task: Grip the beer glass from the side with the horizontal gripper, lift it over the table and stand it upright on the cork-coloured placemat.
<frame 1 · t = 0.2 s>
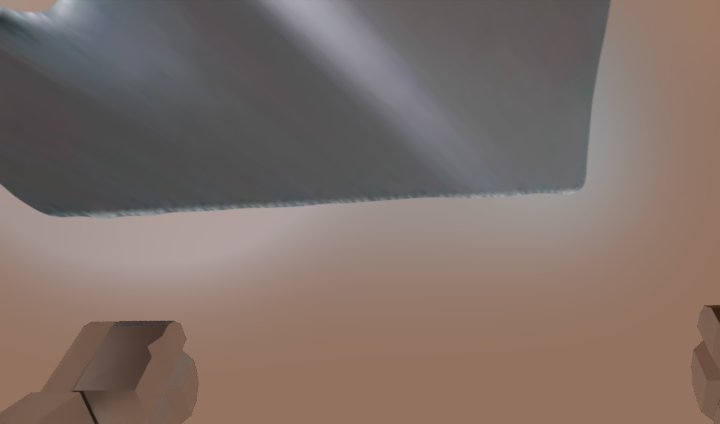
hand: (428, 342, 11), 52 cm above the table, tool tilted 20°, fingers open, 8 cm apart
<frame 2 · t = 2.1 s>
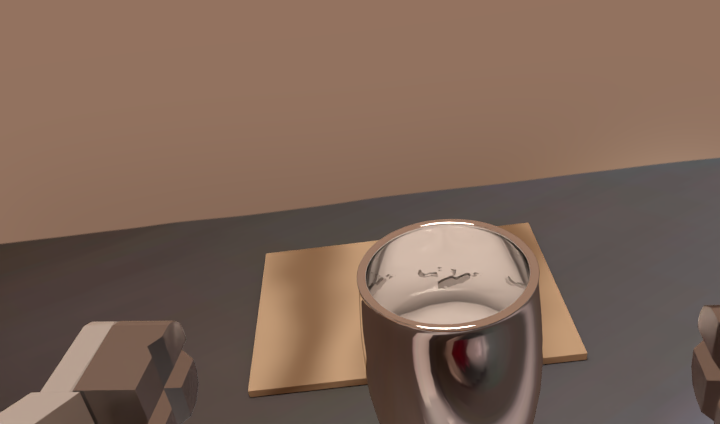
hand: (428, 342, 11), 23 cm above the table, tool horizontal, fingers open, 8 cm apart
placemat: (405, 302, 47), on the table
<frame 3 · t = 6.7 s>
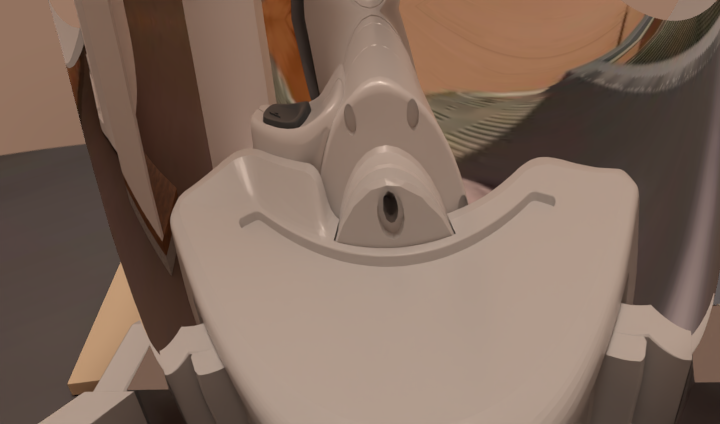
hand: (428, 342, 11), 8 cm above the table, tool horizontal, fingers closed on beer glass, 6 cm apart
placemat: (364, 238, 28), on the table
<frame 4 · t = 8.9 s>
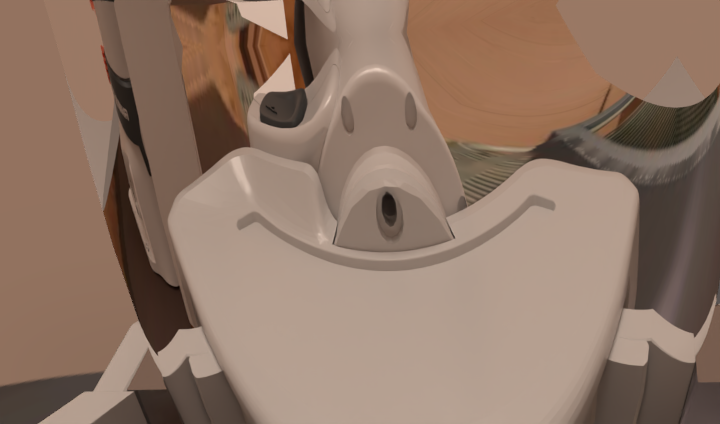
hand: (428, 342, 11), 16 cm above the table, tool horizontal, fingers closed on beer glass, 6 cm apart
when the fingers open (10 cm above the table, at t = 11.6 s): beer glass moves 2 cm, resting on placemat.
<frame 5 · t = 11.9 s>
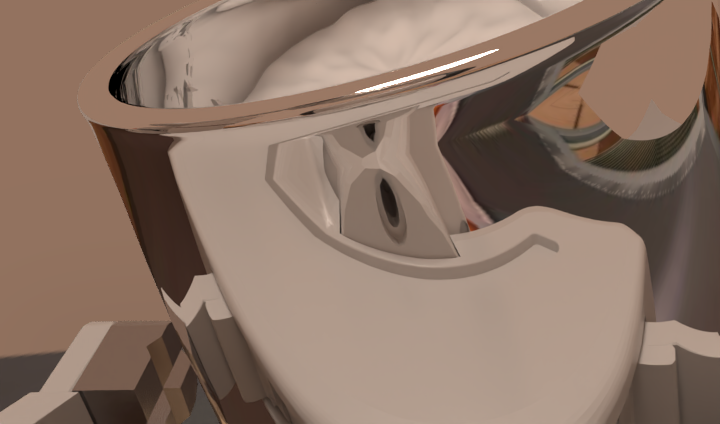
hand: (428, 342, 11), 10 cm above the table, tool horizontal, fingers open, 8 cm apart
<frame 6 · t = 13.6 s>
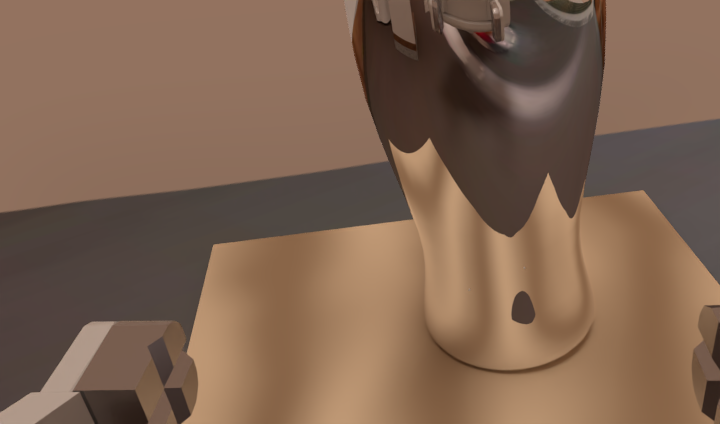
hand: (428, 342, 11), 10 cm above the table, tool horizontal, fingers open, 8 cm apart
beer glass: (507, 313, 25), point 1 cm above the table, touching placemat
placemat: (451, 325, 26), on the table
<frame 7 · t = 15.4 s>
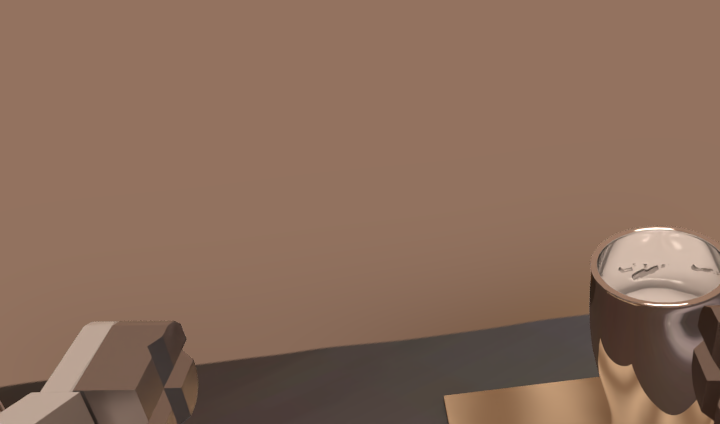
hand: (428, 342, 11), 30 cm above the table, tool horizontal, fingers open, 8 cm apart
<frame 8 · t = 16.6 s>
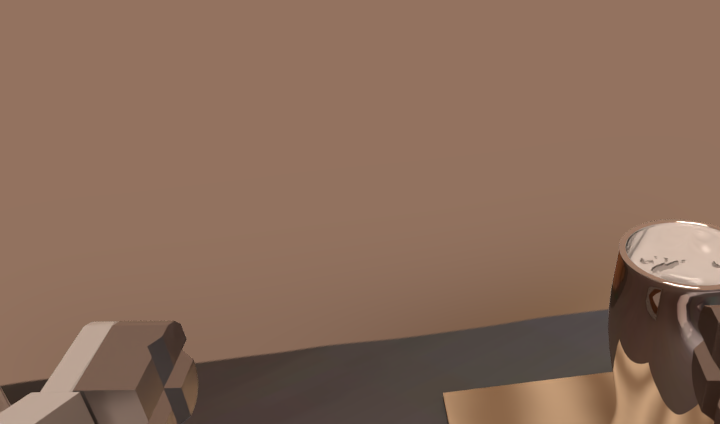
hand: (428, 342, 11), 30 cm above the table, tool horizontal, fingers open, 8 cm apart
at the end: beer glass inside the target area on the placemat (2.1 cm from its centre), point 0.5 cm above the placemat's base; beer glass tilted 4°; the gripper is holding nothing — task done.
